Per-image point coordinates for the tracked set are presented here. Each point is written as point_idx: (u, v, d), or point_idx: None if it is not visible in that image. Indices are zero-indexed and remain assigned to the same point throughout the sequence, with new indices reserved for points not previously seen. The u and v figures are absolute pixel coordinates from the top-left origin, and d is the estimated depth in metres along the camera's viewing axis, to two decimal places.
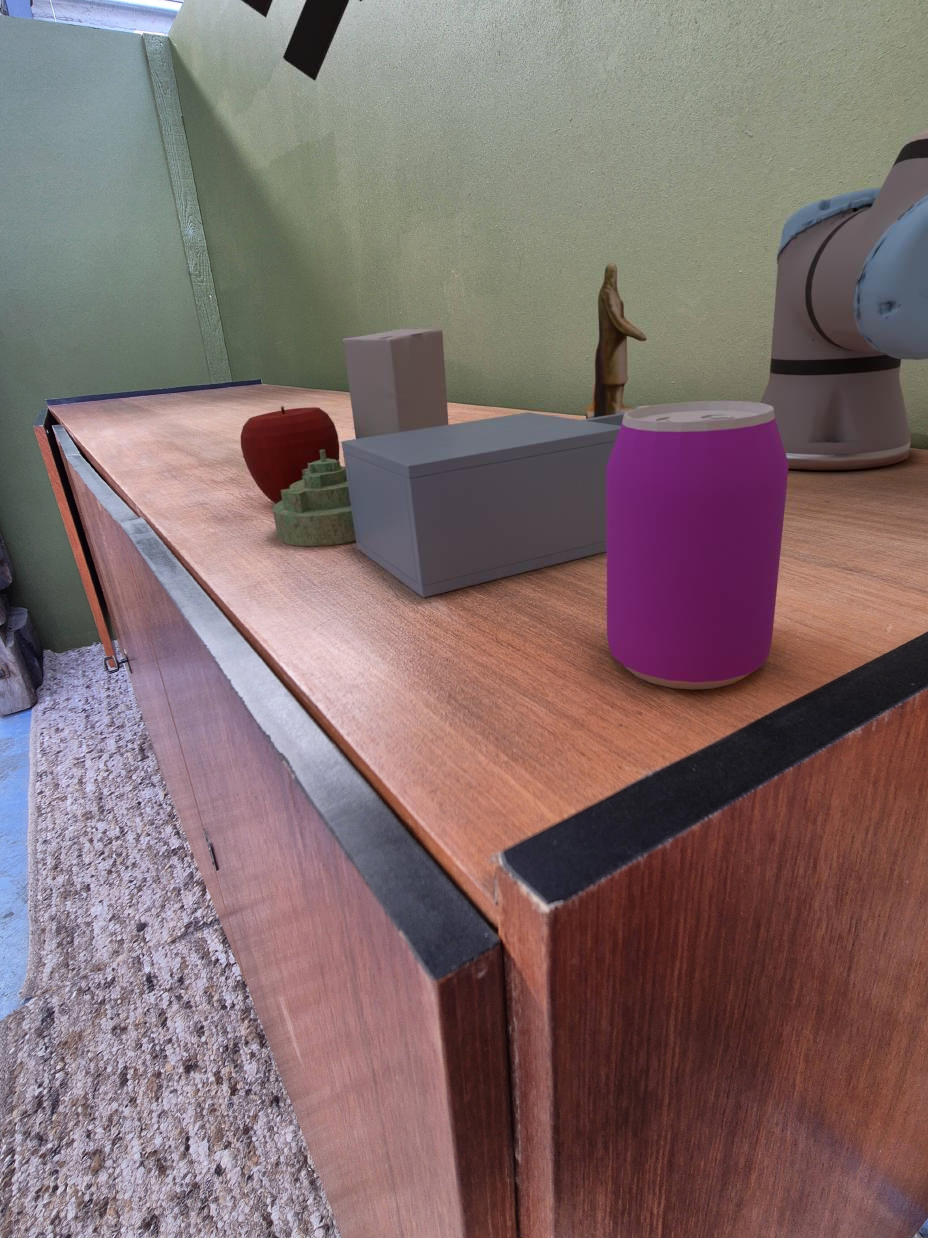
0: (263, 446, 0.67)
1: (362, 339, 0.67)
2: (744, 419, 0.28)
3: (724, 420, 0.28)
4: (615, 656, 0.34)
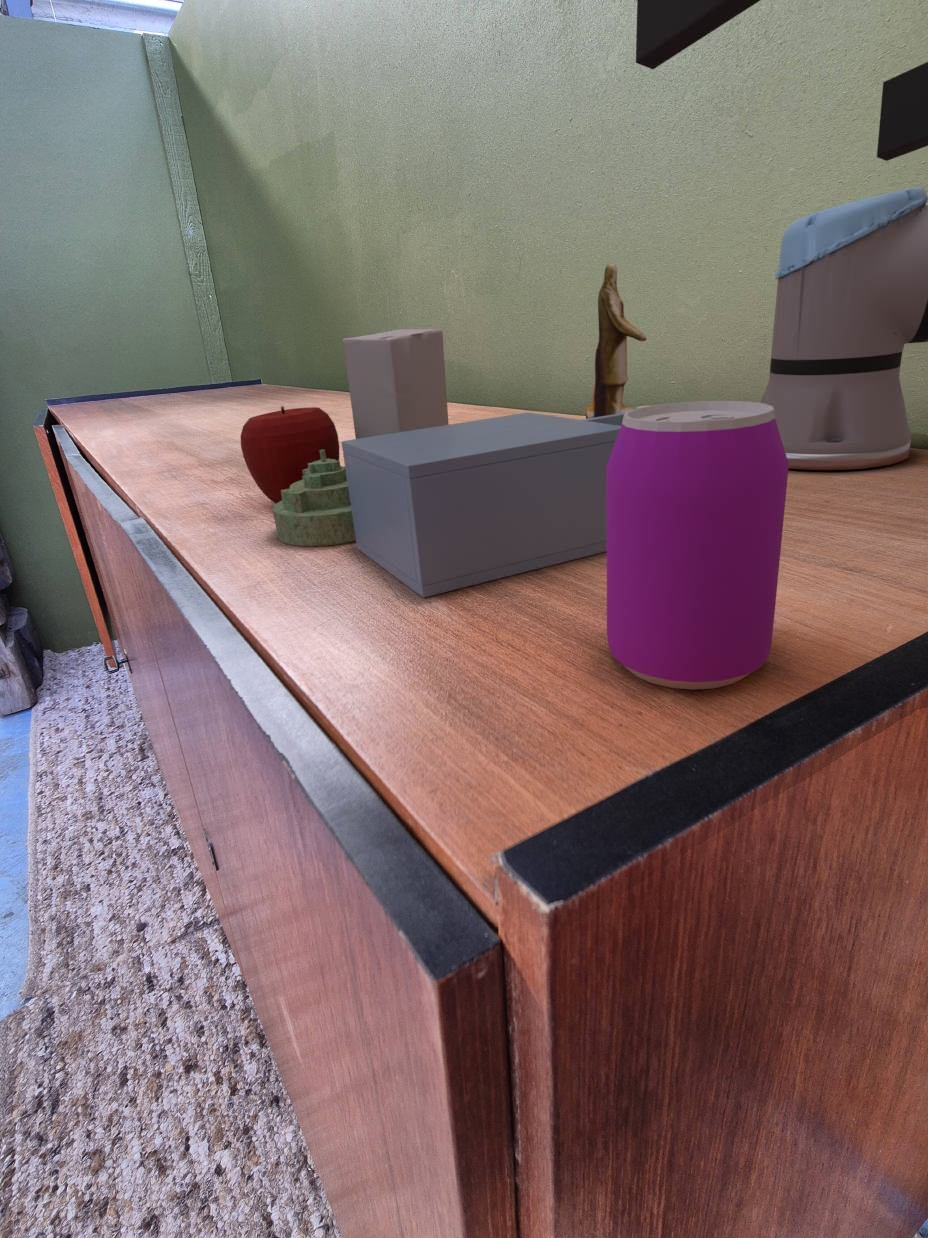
0: (263, 446, 0.67)
1: (362, 339, 0.67)
2: (744, 419, 0.28)
3: (724, 420, 0.28)
4: (615, 656, 0.34)
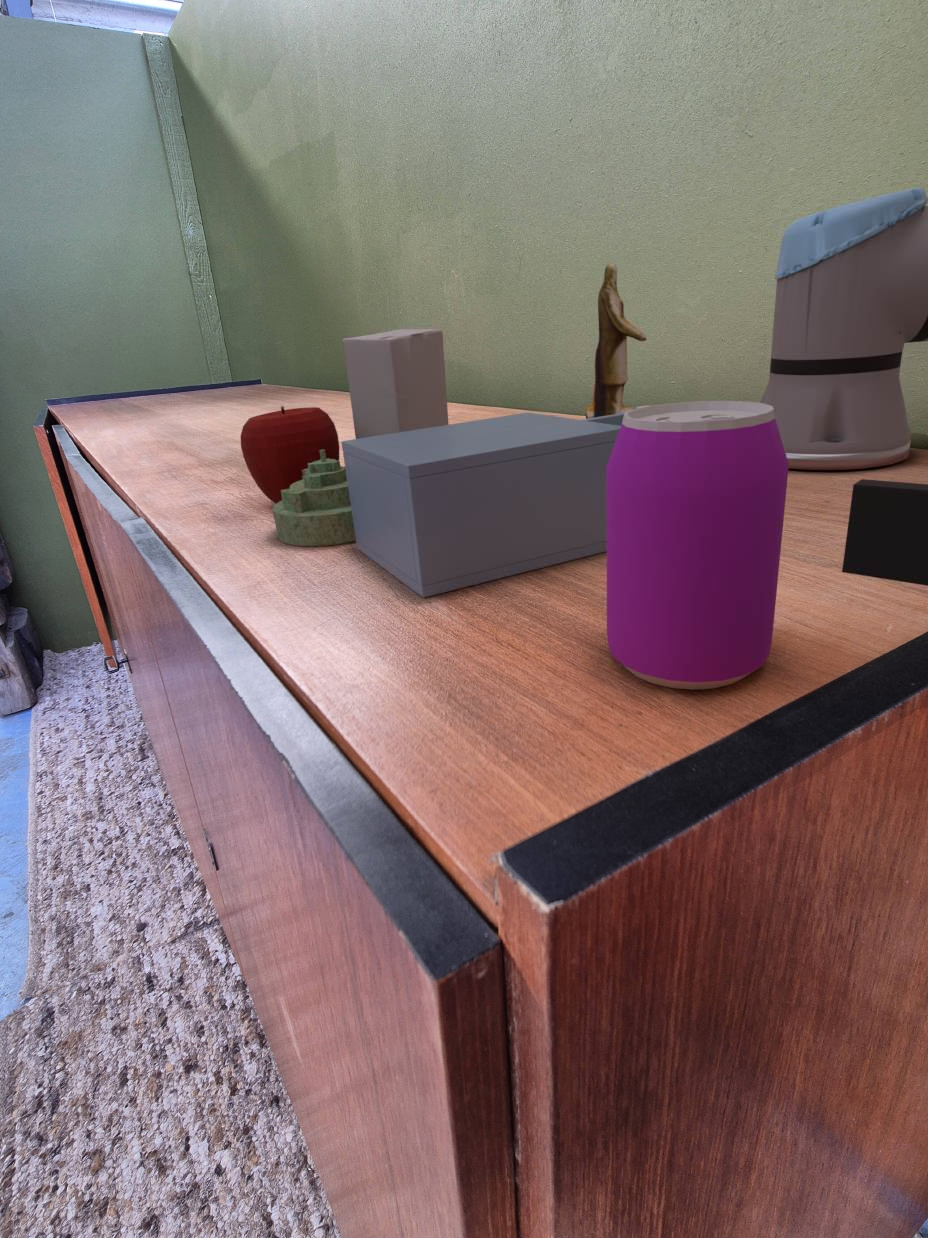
0: (263, 446, 0.67)
1: (362, 339, 0.67)
2: (744, 419, 0.28)
3: (724, 420, 0.28)
4: (615, 656, 0.34)
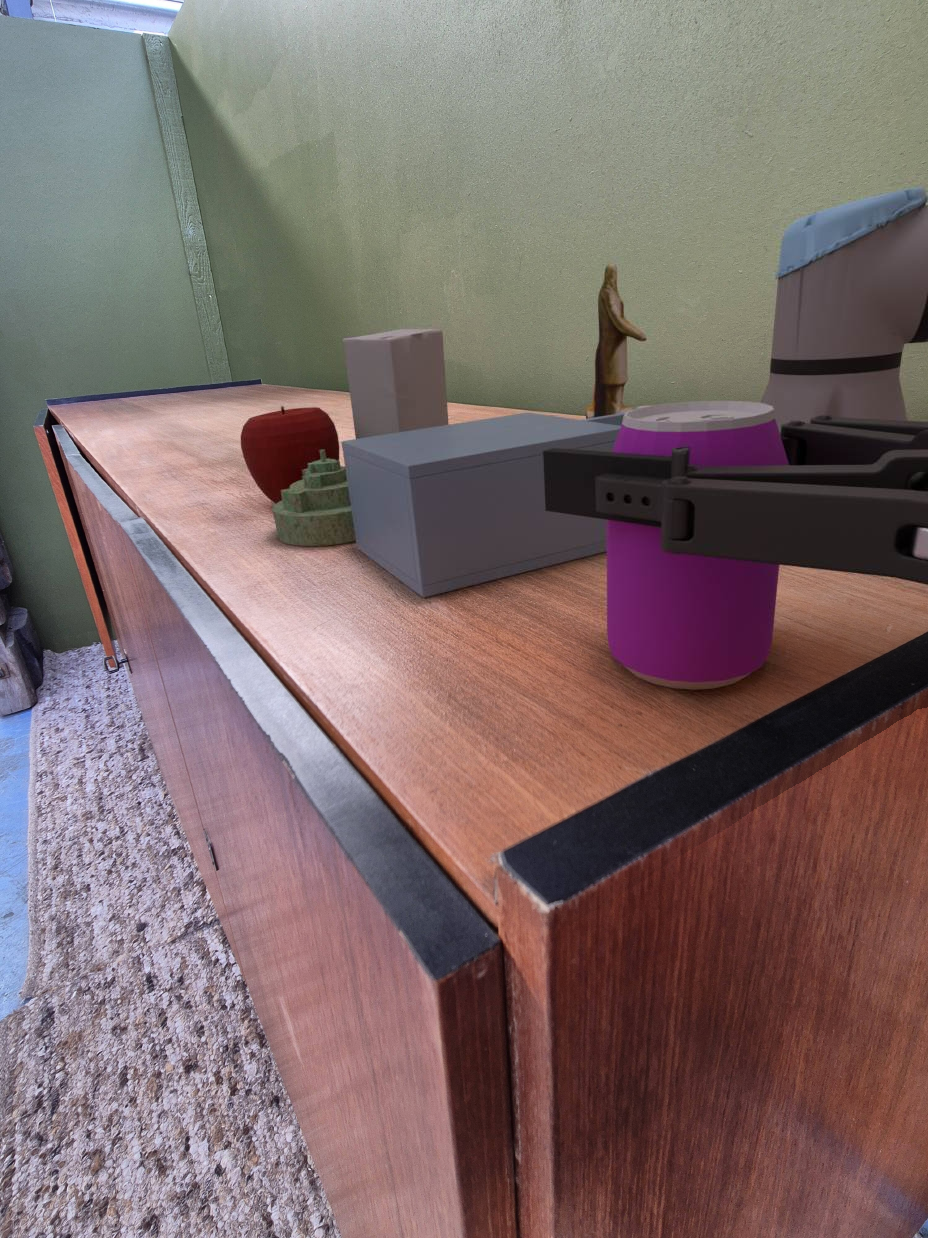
0: (263, 446, 0.67)
1: (362, 339, 0.67)
2: (744, 419, 0.28)
3: (724, 420, 0.28)
4: (615, 656, 0.34)
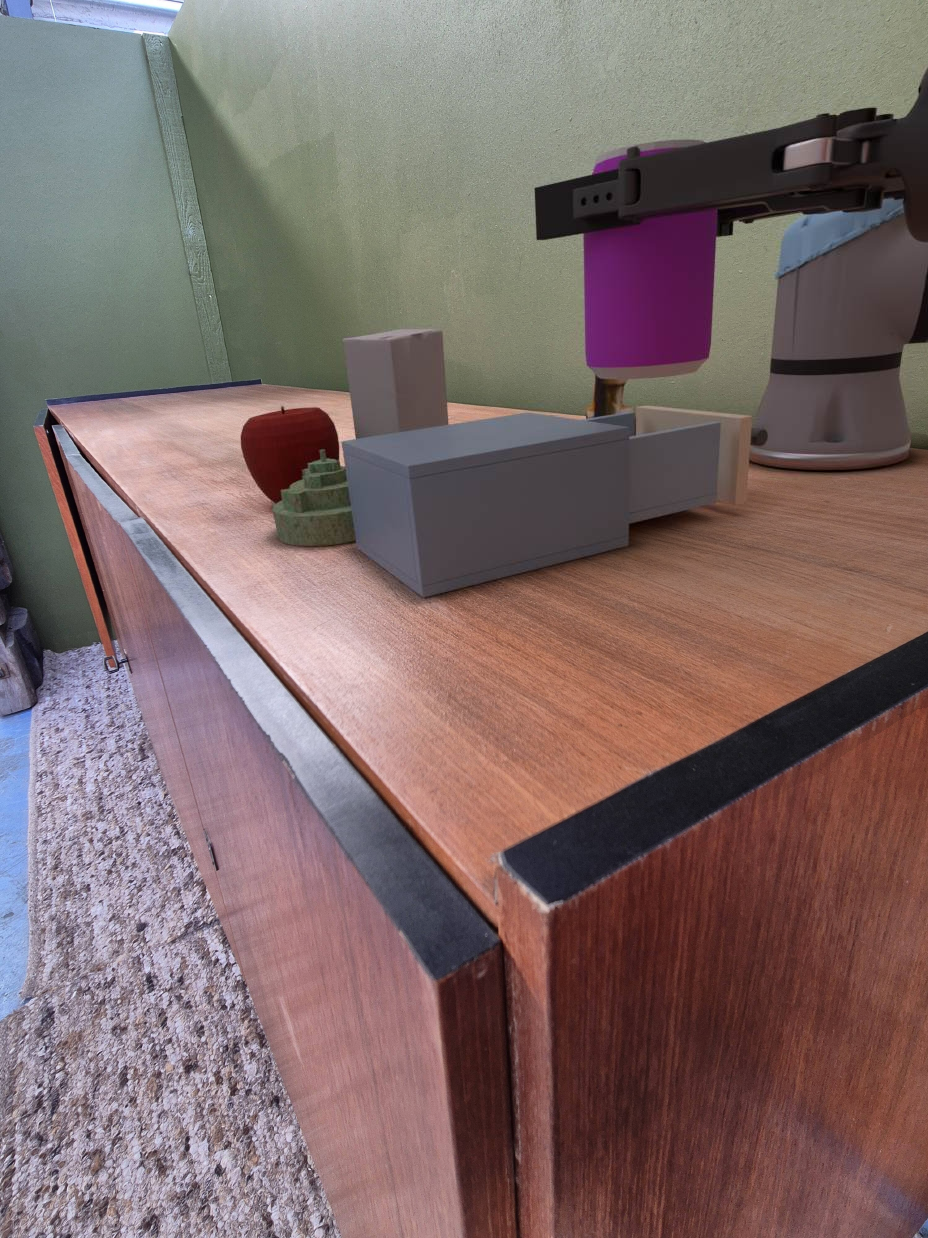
0: (263, 446, 0.67)
1: (362, 339, 0.67)
2: (682, 141, 0.38)
3: (667, 140, 0.38)
4: (591, 364, 0.44)
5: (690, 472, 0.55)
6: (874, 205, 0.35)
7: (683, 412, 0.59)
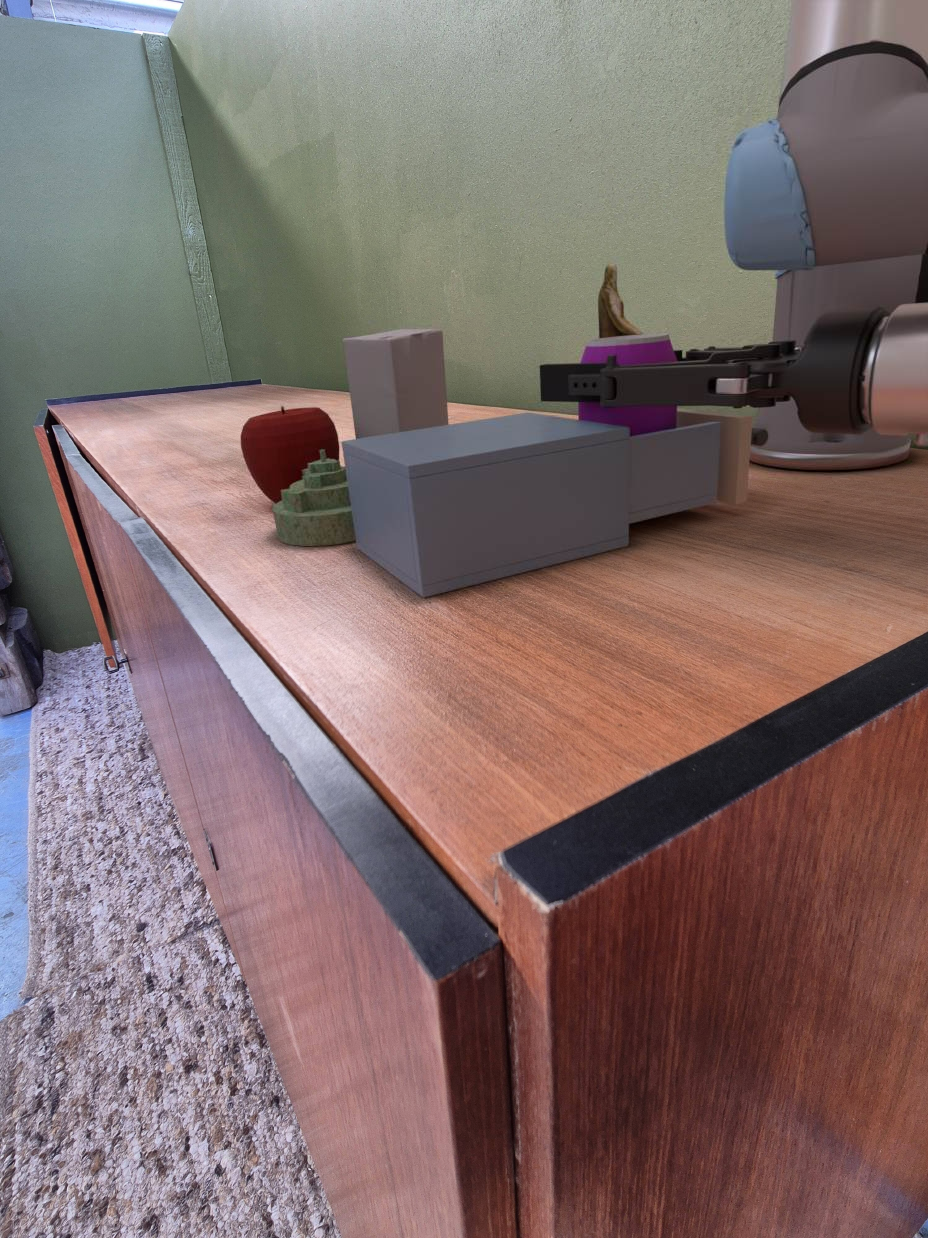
0: (263, 446, 0.67)
1: (362, 339, 0.67)
2: (649, 338, 0.52)
3: (638, 338, 0.52)
4: None
5: (691, 472, 0.55)
6: (784, 400, 0.49)
7: (683, 412, 0.59)
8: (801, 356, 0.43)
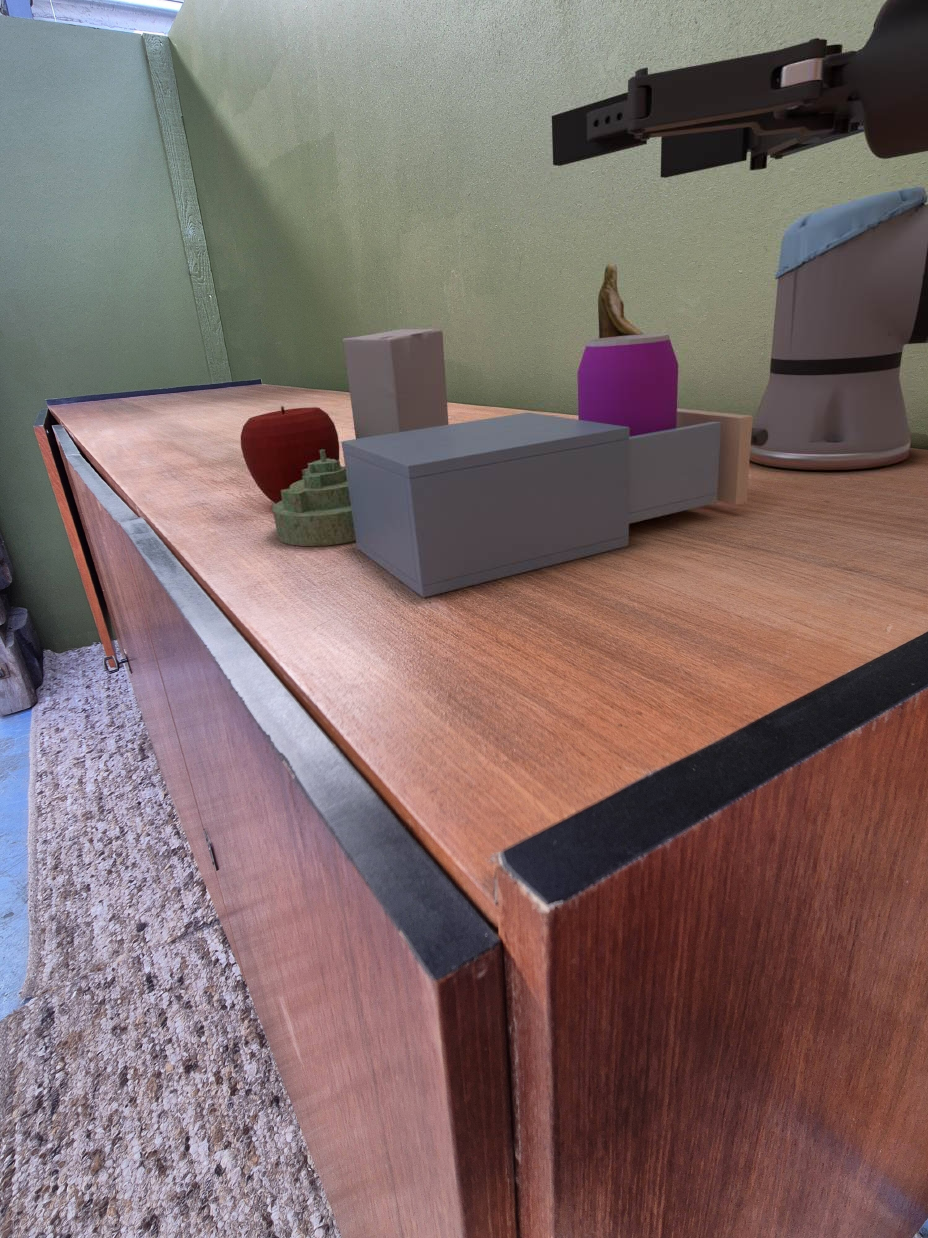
0: (263, 446, 0.67)
1: (362, 339, 0.67)
2: (649, 338, 0.52)
3: (638, 338, 0.52)
4: None
5: (691, 472, 0.55)
6: (840, 131, 0.42)
7: (683, 412, 0.59)
8: (871, 37, 0.36)
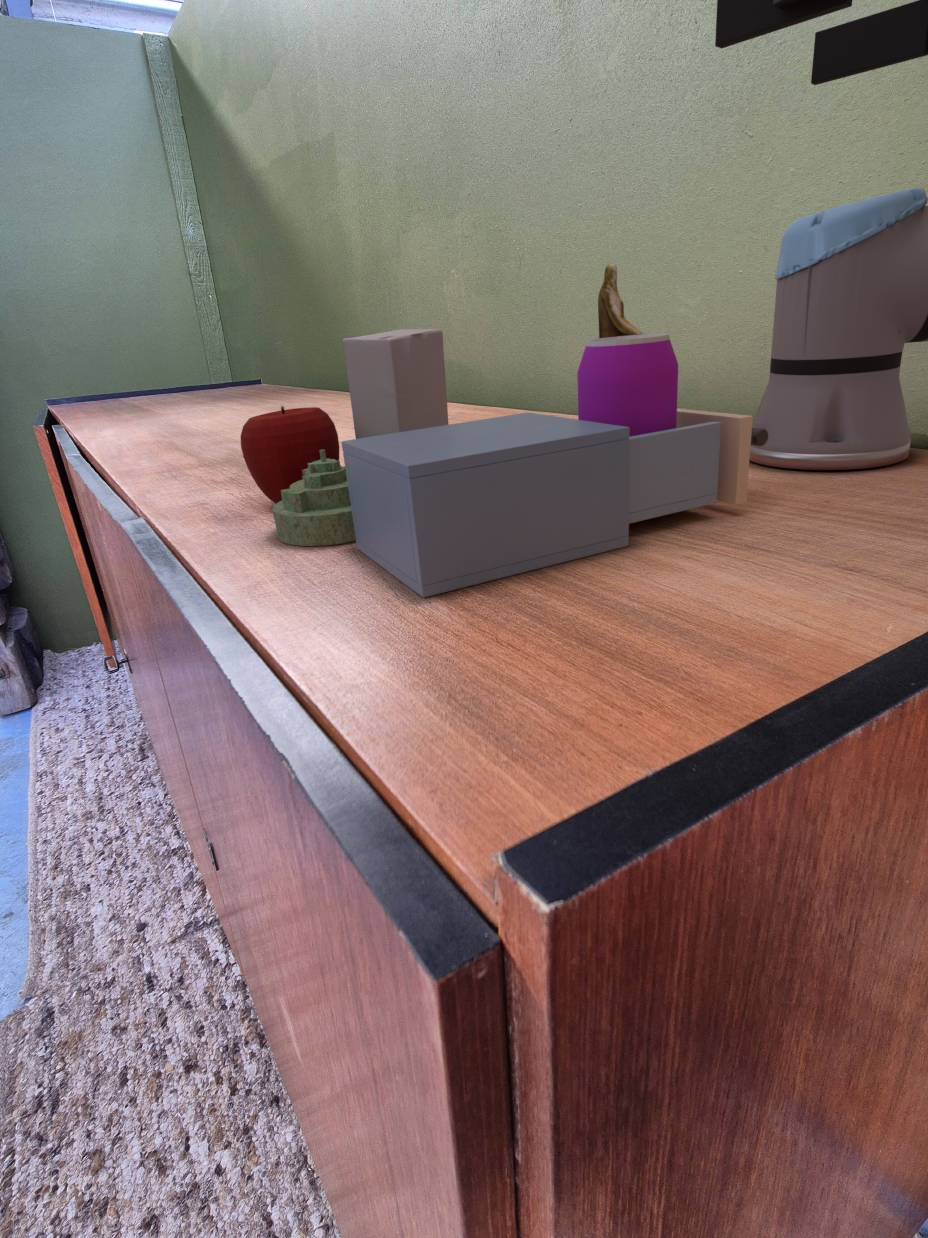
0: (263, 446, 0.67)
1: (362, 339, 0.67)
2: (649, 338, 0.52)
3: (638, 338, 0.52)
4: None
5: (691, 472, 0.55)
6: None
7: (683, 412, 0.59)
8: None
